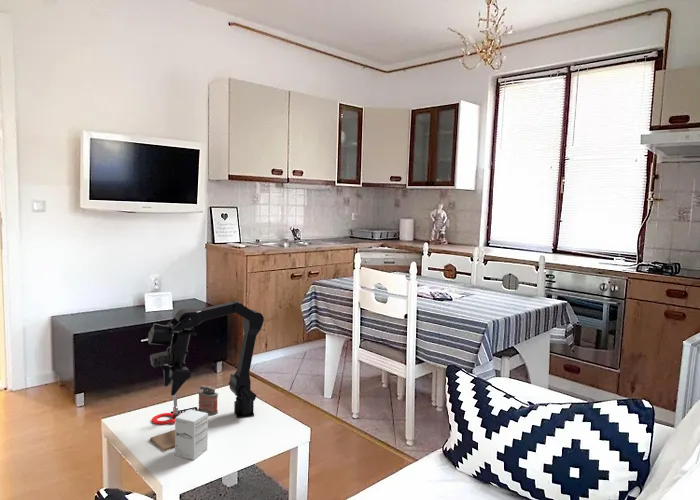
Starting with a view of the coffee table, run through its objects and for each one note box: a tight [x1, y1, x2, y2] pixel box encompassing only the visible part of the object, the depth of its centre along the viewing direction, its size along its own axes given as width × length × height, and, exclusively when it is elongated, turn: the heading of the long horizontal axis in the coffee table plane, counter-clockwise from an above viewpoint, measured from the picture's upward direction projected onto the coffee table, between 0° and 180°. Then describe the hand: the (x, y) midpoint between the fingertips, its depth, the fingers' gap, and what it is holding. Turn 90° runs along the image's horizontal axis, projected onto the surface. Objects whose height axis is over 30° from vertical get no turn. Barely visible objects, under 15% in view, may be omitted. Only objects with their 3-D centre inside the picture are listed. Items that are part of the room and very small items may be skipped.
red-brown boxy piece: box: [197, 385, 219, 416], centre depth 188 cm, size 8×3×10 cm, turn 71°
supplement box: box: [174, 409, 209, 461], centre depth 157 cm, size 7×7×13 cm
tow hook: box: [151, 391, 182, 425], centre depth 180 cm, size 8×13×9 cm
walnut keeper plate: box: [149, 429, 175, 452], centre depth 165 cm, size 10×10×1 cm
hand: (169, 390), depth 171 cm, fingers open, 9 cm apart
